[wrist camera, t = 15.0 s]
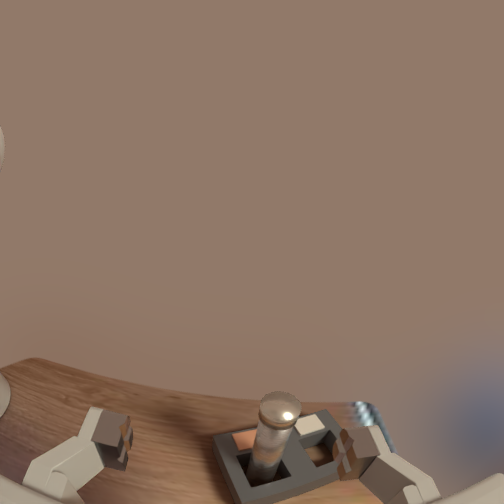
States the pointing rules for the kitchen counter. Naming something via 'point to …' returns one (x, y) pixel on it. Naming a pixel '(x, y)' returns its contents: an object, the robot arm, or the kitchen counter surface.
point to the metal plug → (271, 436)
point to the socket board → (291, 464)
